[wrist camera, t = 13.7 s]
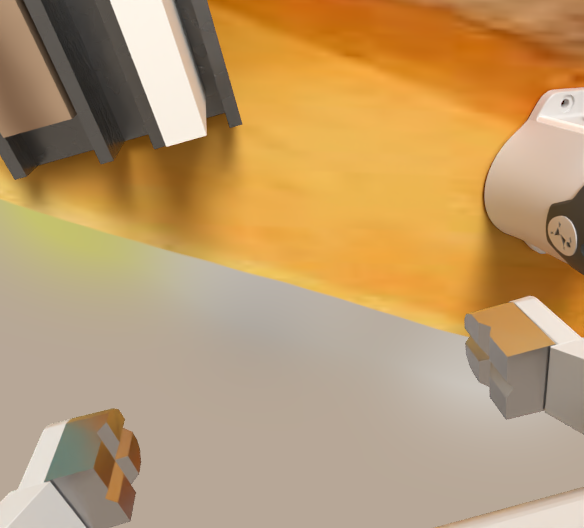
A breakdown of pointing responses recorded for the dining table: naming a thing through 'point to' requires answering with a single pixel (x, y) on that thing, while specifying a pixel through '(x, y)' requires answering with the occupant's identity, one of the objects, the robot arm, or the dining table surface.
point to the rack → (108, 82)
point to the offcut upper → (27, 75)
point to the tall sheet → (165, 66)
